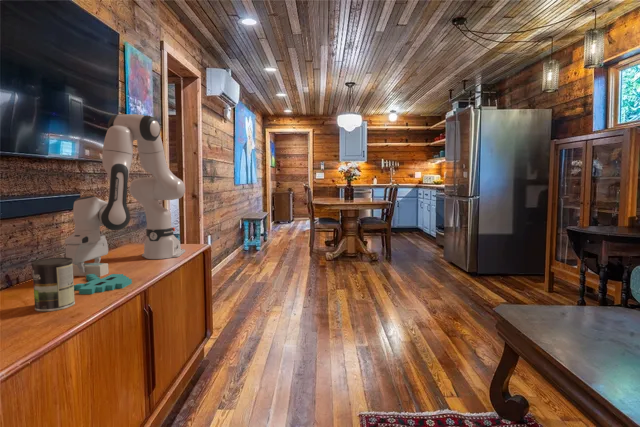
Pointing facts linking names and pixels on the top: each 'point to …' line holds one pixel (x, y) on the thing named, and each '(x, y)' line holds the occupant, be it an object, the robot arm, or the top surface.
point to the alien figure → (102, 283)
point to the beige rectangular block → (92, 269)
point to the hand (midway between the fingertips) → (89, 270)
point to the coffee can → (53, 284)
